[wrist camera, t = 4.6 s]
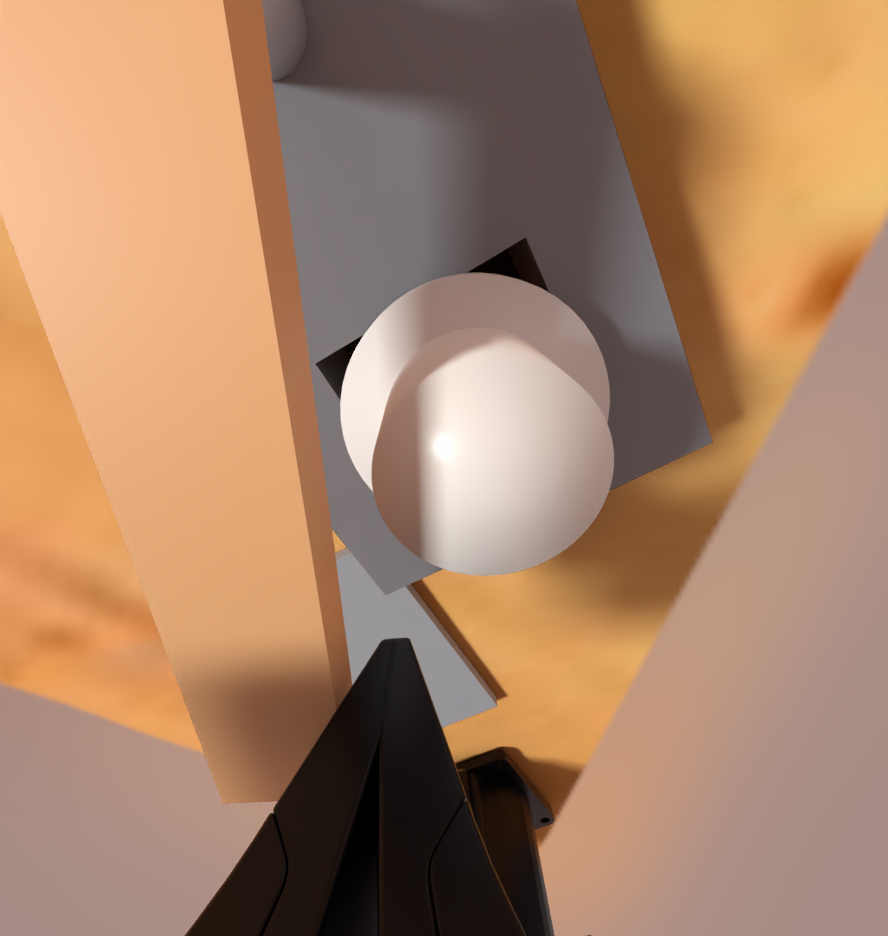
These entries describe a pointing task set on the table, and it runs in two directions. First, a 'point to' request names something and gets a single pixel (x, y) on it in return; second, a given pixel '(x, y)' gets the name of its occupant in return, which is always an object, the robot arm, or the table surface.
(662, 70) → the table surface
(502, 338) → the plug
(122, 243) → the light orange flat bar
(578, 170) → the socket base
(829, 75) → the table surface
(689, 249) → the table surface
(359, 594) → the mat
